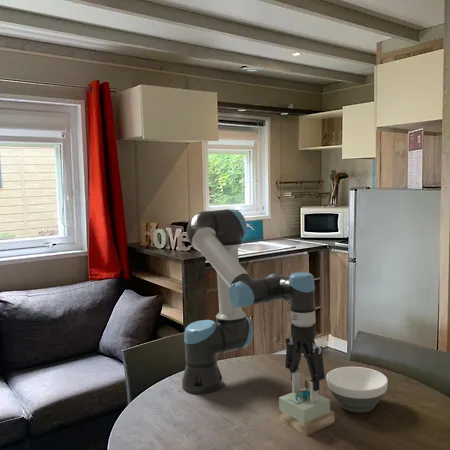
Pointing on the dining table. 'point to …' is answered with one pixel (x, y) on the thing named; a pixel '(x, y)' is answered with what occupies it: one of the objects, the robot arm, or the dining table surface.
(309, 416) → the tower top
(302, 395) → the dragon figurine
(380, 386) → the bowl
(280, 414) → the tower base
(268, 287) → the robot arm
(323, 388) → the dining table surface
